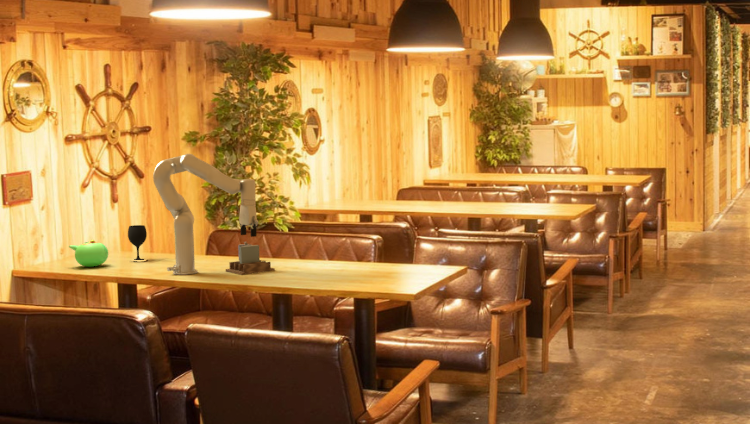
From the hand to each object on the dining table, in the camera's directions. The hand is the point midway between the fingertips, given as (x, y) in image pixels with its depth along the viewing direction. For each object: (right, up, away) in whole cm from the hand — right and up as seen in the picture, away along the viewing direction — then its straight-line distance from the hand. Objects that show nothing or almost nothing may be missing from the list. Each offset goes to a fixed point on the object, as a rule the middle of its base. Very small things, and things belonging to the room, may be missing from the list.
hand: (248, 235), depth 496 cm
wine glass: (-69, -16, +47) cm, 85 cm away
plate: (0, -17, +2) cm, 17 cm away
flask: (-7, -15, +42) cm, 45 cm away
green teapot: (-90, -18, +26) cm, 95 cm away
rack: (+1, -19, +2) cm, 19 cm away
